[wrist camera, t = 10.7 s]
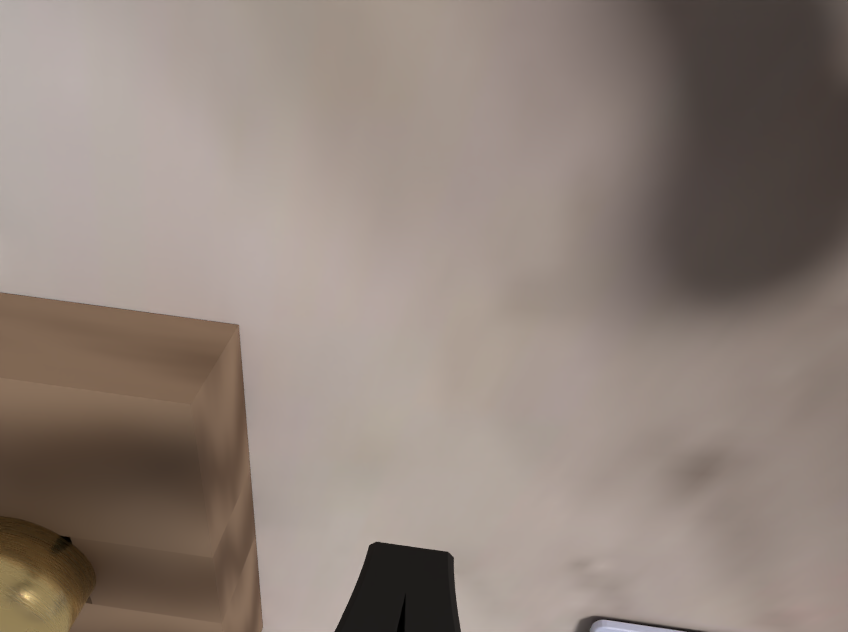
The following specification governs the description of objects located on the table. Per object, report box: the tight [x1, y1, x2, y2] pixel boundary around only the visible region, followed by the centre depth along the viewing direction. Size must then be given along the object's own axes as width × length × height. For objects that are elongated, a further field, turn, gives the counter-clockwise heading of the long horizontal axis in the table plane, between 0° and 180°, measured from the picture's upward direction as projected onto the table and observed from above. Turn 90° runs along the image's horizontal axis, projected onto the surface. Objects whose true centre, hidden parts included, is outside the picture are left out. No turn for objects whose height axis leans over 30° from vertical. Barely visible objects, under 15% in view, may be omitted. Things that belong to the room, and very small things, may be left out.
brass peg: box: [0, 516, 96, 632], centre depth 24 cm, size 5×5×6 cm
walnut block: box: [0, 293, 263, 632], centre depth 25 cm, size 18×14×4 cm
